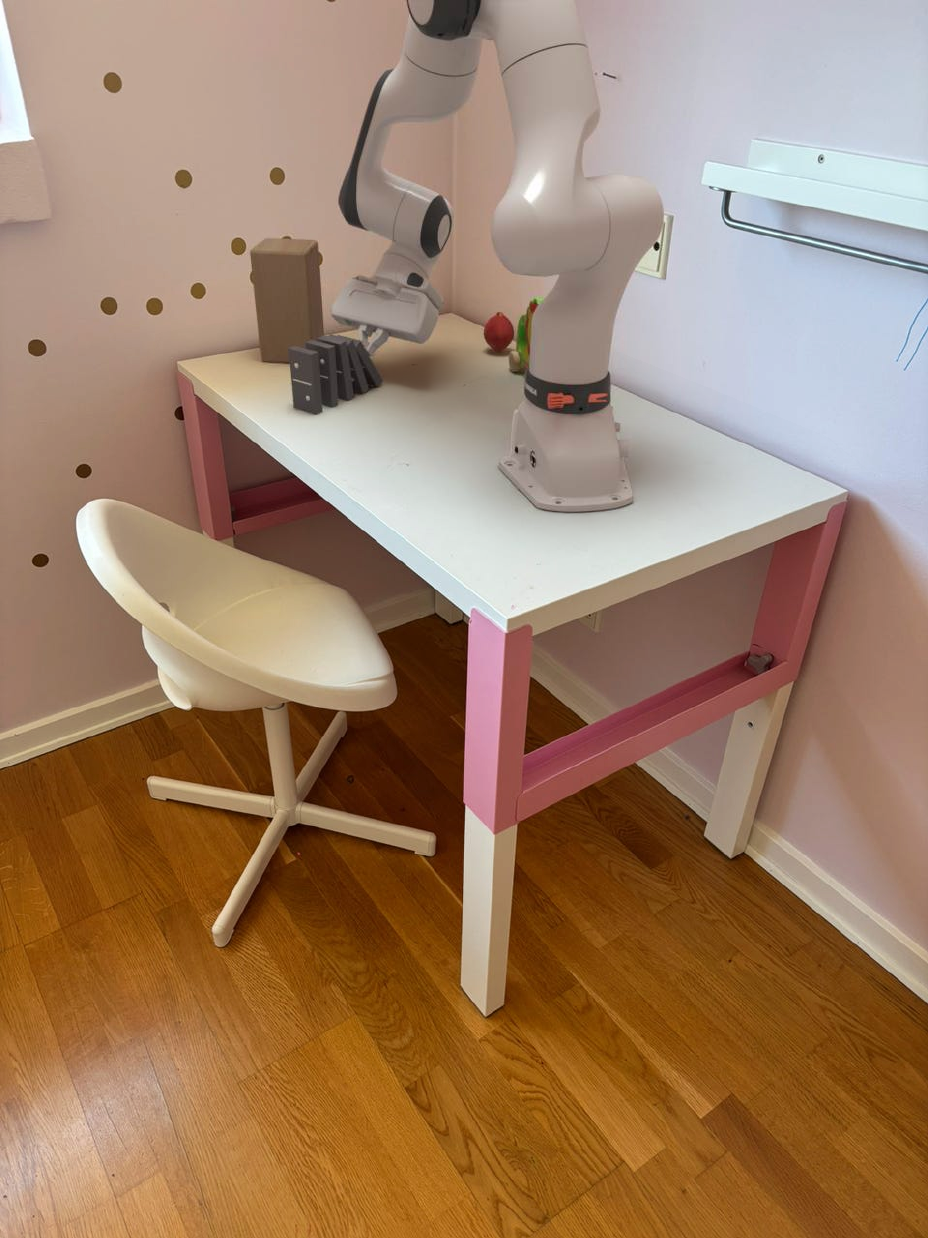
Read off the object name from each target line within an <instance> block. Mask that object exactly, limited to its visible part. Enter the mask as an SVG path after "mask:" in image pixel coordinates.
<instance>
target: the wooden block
mask: <svg viewBox="0 0 928 1238" xmlns="http://www.w3.org/2000/svg"><path fill="white" fill-rule="evenodd" d="M319 251H320V250H319V242H318V240H316V239H303V238H301V239H300V238H279V237H278V238H277V237H274V238H273V237H265V238H264V239H262V240H261V241H260V242H259V243H258V244H257V245H255V246H254V247H252V248H251V249H250V252H249V254H250V263H251V272H252V273H251V274H252V282H253V284H252V285H253V292H254V293H253V294H254V301H255V302H254V303H255V311H256V320H257V321H256V322H257V329H258V330H257V332H258V339H259V349H260V350H259V351H260V359H261V361H262V362H264V363H280V364H281V363H284V364H290V362H289V351H288V348H291V347H294V346H297V347H301V348H305V349H306V343H305V342H308V341H311V340H314V341H317V338H319V337H321V336H323V335H325V331H324V315H323V314H324V312H323V311H324V310H323V300H322V286H321V285H322V283H321V282H322V281H321V269H320V268H321V267H320V255H319V254H320V253H319Z"/></svg>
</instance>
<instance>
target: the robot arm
mask: <svg viewBox="0 0 928 1238" xmlns="http://www.w3.org/2000/svg"><path fill="white" fill-rule="evenodd" d="M406 7H407V10H408V13H409V15H408V19H407V23H406V29H405V33H404V39H403V44H402V45H403V46H402V47H403V48H402V52H401V56H400V59H399V61H398V63H397V65H396V66H395V68H390V69H386V70H385V71H384V72H383V73H382V74H381V76H380V77H379V78H378V80H377V82H376V84H375V86H374V87H373V90H372V92H371V95H370V99H369V101H368V104H367V107H366V110H365V112H364V117H363V119H362V122H361V127H360V130H359V133H358V137H357V140H356V144H355V147H354V150H353V154H352V157H351V161H350V164H349V167H348V168H347V169H348V170H347V171H346V173H345V177H344V179H343V181H342V184H341V186H340V191H339V193H338V206H339V208H340V212H341V214H342V216H343V218H344V219H345V221H346V223H347V224H348V226H351V227H354V228H358V229H361V230H365V231H367V232H372V233H374V234H376V235H379V236H380V237H383V238H385V239H387V240H389V241H391V242H390V246H389V247H388V248H387V249H386V250H385V251H384V253H383V255H382V256H381V258H380V260H379V262H378V264H377V267H376V269H375V271H374V273H373V275H372V277H370V276H369V277H368V276H365V275H361V274H358V275H356V276H355V277H353V278H349V280H348V281H347V283H346V284H345V285H344V286H343V287H342V289H341V290H340V292H339V293H338V295H337V297H336V298H335V300H334V301H333V302H332V304H331V307H330V314H331V316H332V318H333V319H334V320H335V322H337V323H338V324H340V325H342V326H345V327H350V328H353V329H357V330H358V340H360V341H361V342H362V344H363V346H364V348H365V349H366V351H367V353H368V355H369V357H374V356H375V354H376V351H377V350H378V349H379V348H380V347H381V346H383V345H384V344H386V343H387V342H388V340H389V338H390V337H391V338H394V339H398V340H403V341H407V342H412V343H415V344H419V345H423V344H424V343H426V342H427V341H429V339H430V337H431V336H432V335H433V332H434V330H435V327H436V325H437V322H438V319H439V310H440V309H441V308H443V306H444V303H445V300H444V298H443V296H442V294H441V293H440V291H438V289H437V288H436V287H435V285H434V284H433V283H432V282H431V280H430V275H431V274H430V273H431V271H432V268H433V266H434V265H435V264H436V263H437V262H438V260H439V259H440V257H441V255H442V253H443V250H444V248H445V246H446V244H447V242H448V240H449V238H450V235H451V231H452V228H453V227H452V226H453V221H454V214H455V213H454V208H453V207H452V205H451V204H450V202H449V201H448V200H447V199H446V198H445V197H444V196H442V195H441V194H439V193H438V192H436V191H435V190H432V189H430V188H427V187H425V186H423V185H421V184H419V183H414V182H412V181H411V180H409V179H405V178H403V177H401V176H398V175H396V174H394V173H391V172H389V171H388V170H387V169H386V168H385V167H384V166H383V164H382V159H383V157H384V154H385V151H386V147H387V144H388V141H389V138H390V134H391V132H392V128H393V125H395V124H400V123H411V122H412V123H413V122H414V123H433V122H438V121H441V120H445V119H447V118H450V117H452V116H454V115H455V114H458V112H460V111H461V110H462V109H464V107H465V105H466V104H467V103H468V102H469V100H470V97H471V94H472V91H473V89H474V86H475V83H476V79H477V76H478V75H477V74H478V69H479V64H480V58H481V53H482V47H483V41H484V40H486V41H493V42H494V45H495V49H496V56H497V61H498V64H499V71H500V74H501V81H502V84H503V90H504V93H505V98H506V104H507V108H508V112H509V118H510V119H509V120H510V123H511V130H512V134H513V144H514V147H513V149H514V150H513V152H514V155H513V156H514V157H513V165H512V166H513V167H512V173H511V178H510V182H509V185H508V187H507V190H506V192H505V194H504V195H503V197H501V200H500V201H499V202H498V204H497V206H496V208H495V210H494V213H493V216H492V220H491V226H490V227H491V228H490V233H491V234H490V235H491V236H490V237H491V243H492V246H493V247H492V248H493V249H494V250H493V251H494V252H495V255H496V257H497V258H498V260H499V262H500V263H501V265H502V266H503V267H504V268H505V269H506V270H507V271H508V272H510V273H512V274H514V275H520V276H527V277H528V276H529V277H542V278H543V277H545V278H546V277H553V276H557V275H558V277H557V279H556V281H555V283H554V284H553V287H552V288H551V290H550V292H549V293H548V294H547V295H546V296H545V298H544V297H543V298H544V299H543V300H542V302H541V303H540V304H539V305H538V306H537V308H536V310H535V312H534V314H533V317H532V323H531V341H530V359H529V367H528V368H527V369H525V371H526V376H525V379H524V378H523V381H524V382H523V384H524V392H523V393H524V399H523V401H522V402H521V404H520V405H519V406H518V407H517V408H515V410H514V411H513V414H512V423H511V433H510V442H509V452H508V453H509V454H507V455H505V456H503V457H501V458H500V459H499V460H498V466H497V467H498V468H499V470H500V471H502V473H503V474H504V475H505V476H506V477H507V478H508V479H509V480H510V481H511V482H512V483H513V484H514V486H516V487H517V488H518V489H519V490H520V492H521V493H523V495H525V497H526V498H527V499H528V500H529V501H530V502H531V504H533V505H534V506H535V507H536V508H537V509H542V510H547V511H555V512H569V513H570V512H571V513H572V512H573V513H574V512H576V513H577V512H592V511H594V512H595V511H603V510H612V509H616V508H620V507H623V506H626V505H629V504H631V503H633V501H634V492H633V489H632V486H631V481H630V478H629V474H628V471H627V470H628V469H627V467H626V463H625V459H624V458H626V457H628V455H629V440H626V439H625V440H618V434H617V433H620V431H621V422H615V419H614V413H613V411H614V406H613V405H612V404H611V398H612V397H611V391H612V382H611V373H610V371H609V363H610V355H611V346H612V340H613V334H614V325H615V321H616V318H617V317H616V316H617V312H618V309H619V307H620V304H621V301H622V298H623V295H624V294H625V291H626V288H627V286H628V283H629V282H630V280H631V277H632V276H633V273H634V272H635V270H636V269H637V267H638V265H639V263H640V262H641V260H642V259H643V258H644V256H645V255H646V254H647V253H648V252H649V250H650V249H652V248H653V246H654V245H655V244H656V243H657V241H658V239H659V238H660V235H661V234H662V230H663V227H664V219H665V210H664V204H663V200H662V197H661V195H660V193H659V191H658V189H657V188H656V187H655V186H654V185H653V184H652V182H650V181H648V180H647V179H644V178H641V177H637V176H633V175H626V174H622V173H621V174H620V173H619V174H618V173H612V174H611V173H610V174H604V175H596V176H588V177H585V175H584V170H583V152H584V151H583V149H584V145H585V142H586V141H587V140H588V139H589V138H590V136H592V134H593V133H594V131H595V130H596V128H597V126H598V124H599V122H600V120H601V119H600V118H601V106H600V100H599V96H598V95H599V94H598V90H597V86H596V80H595V76H594V70H593V67H592V62H591V56H590V51H589V47H588V42H587V39H586V34H585V31H584V26H583V24H582V20H581V17H580V13H579V10H578V7H577V4H576V1H575V0H406ZM373 333H374V334H375V336H374V337H372V335H373ZM371 337H372V339H371V340H370V341H368V338H371Z"/></svg>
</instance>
